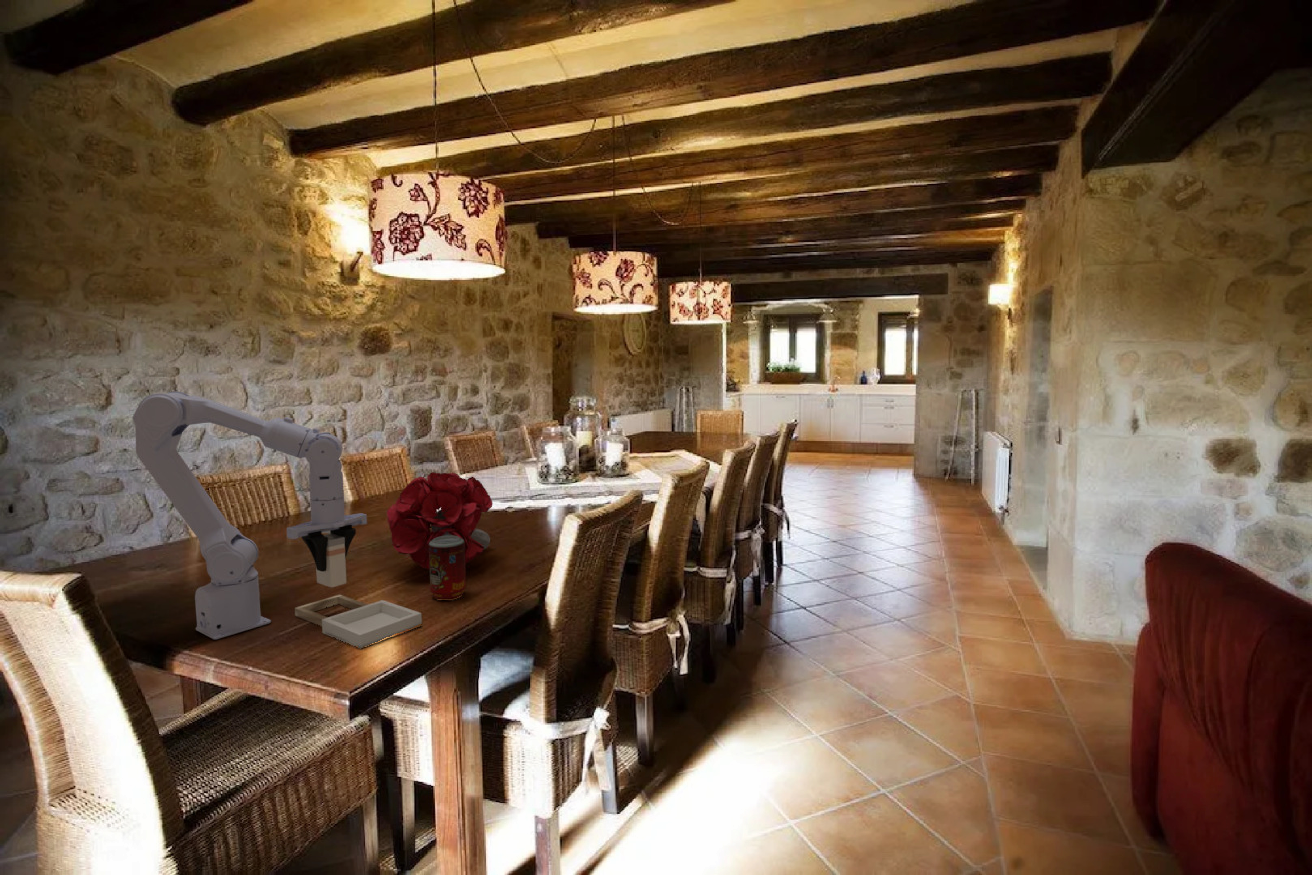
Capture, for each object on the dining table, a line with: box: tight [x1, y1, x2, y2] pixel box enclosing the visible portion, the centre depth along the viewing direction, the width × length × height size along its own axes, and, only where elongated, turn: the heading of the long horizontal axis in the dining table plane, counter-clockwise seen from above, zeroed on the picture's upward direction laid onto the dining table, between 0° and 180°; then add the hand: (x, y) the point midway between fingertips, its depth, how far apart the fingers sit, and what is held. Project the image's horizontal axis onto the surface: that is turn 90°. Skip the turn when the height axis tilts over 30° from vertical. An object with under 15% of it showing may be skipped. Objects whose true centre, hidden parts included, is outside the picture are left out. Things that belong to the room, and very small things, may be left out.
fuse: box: [315, 533, 347, 588], centre depth 125 cm, size 3×5×9 cm, turn 56°
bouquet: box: [386, 471, 493, 570], centre depth 158 cm, size 22×24×30 cm
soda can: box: [429, 535, 467, 600], centre depth 136 cm, size 7×7×12 cm
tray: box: [321, 599, 423, 650], centre depth 119 cm, size 12×12×2 cm
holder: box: [294, 594, 369, 627], centre depth 127 cm, size 9×11×2 cm
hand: (330, 567), depth 126 cm, fingers closed on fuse, 3 cm apart
